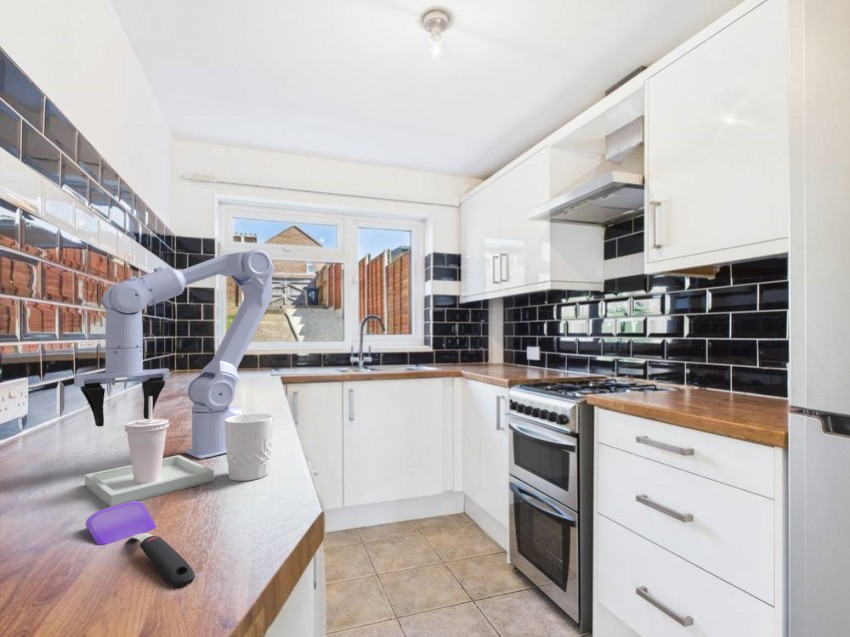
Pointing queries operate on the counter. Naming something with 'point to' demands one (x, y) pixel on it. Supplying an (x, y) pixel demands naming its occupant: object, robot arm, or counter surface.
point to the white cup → (248, 446)
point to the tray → (122, 489)
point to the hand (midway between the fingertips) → (124, 421)
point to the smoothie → (147, 447)
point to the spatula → (139, 539)
